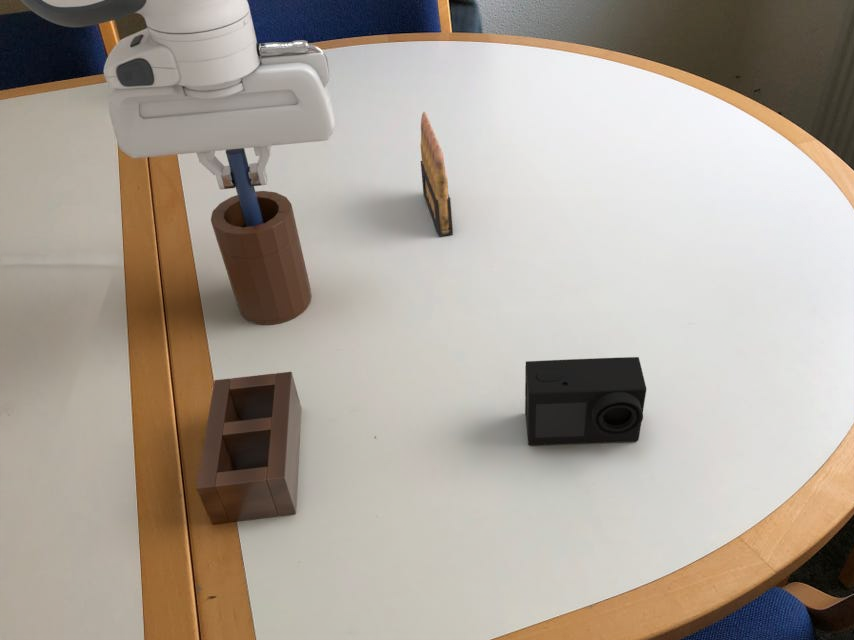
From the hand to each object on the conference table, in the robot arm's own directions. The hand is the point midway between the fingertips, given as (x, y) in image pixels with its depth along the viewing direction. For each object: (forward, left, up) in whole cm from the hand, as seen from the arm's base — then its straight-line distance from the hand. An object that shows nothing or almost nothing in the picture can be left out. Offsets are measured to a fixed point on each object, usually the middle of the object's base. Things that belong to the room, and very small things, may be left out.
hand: (244, 184), depth 80 cm
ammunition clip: (+20, +15, -15) cm, 29 cm away
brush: (0, 0, -12) cm, 12 cm away
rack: (0, -24, -15) cm, 28 cm away
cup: (0, 0, -15) cm, 15 cm away
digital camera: (+30, -25, -15) cm, 42 cm away
